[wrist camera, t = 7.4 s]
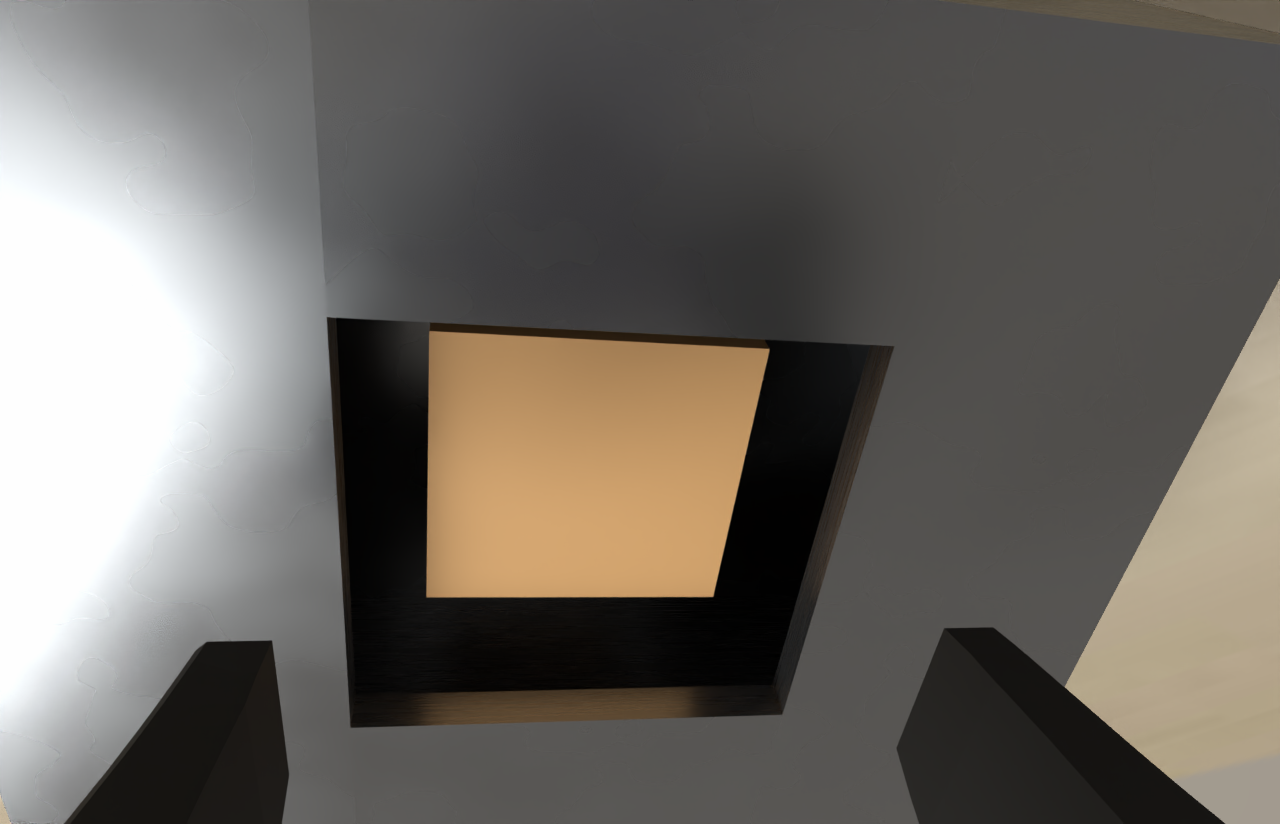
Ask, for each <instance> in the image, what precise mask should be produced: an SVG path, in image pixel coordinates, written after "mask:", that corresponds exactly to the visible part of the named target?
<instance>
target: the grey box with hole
mask: <svg viewBox="0 0 1280 824" xmlns="http://www.w3.org/2000/svg"><path fill="white" fill-rule="evenodd" d="M1279 279H1280V33H1276V32H1271V31H1267V30H1262V29H1258V28H1254V27H1249V26H1245V25H1240V24H1236V23H1231V22H1227V21H1223V20H1218V19H1214V18H1209V17H1205V16H1200V15H1196V14H1192V13H1187V12H1183V11H1178V10H1174V9H1169V8H1165V7H1161V6H1156V5H1152V4H1147V3H1143V2H1138V1H1134V0H0V795H1V798H2V801H3V803H4V806H5V809H6V811H7V814H8V817H9V819H10V822H11V824H64V823H65V822H66V821H67V819H68V818H69V817H70V816H71V814H72V813H73V812H74V811H75V809H76V808H77V807H78V806H79V805H80V803H81V802H82V801H83V800H84V798H85V797H86V796H87V795H88V793H89V792H90V791H91V790H92V788H93V787H94V786H95V785H96V784H97V782H98V781H99V780H100V779H101V777H102V776H103V775H104V774H105V772H106V771H107V770H108V769H109V767H110V766H111V765H112V763H113V762H114V761H115V759H116V758H117V757H118V756H119V754H120V753H121V752H122V750H123V749H124V748H125V746H126V745H127V744H128V743H129V741H130V740H131V739H132V737H133V736H134V735H135V733H136V732H137V731H138V729H139V728H140V727H141V725H142V724H143V723H144V721H145V720H146V719H147V717H148V716H149V715H150V713H151V712H152V711H153V709H154V708H155V707H156V705H157V704H158V703H159V701H160V700H161V698H162V697H163V696H164V694H165V693H166V691H167V690H168V689H169V687H170V686H171V685H172V683H173V682H174V680H175V679H176V678H177V676H178V675H179V673H180V672H181V671H182V669H183V668H184V666H185V665H186V663H187V662H188V661H189V659H190V658H191V656H192V655H193V653H194V652H195V650H197V649H198V648H199V647H200V646H202V645H203V644H204V643H205V642H214V641H269V640H272V643H273V651H274V658H275V666H276V674H277V682H278V690H279V698H280V706H281V713H282V721H283V729H284V737H285V745H286V753H287V761H288V768H289V780H288V787H287V793H286V800H285V806H284V813H283V819H282V824H919V822H918V819H917V816H916V813H915V810H914V807H913V804H912V800H911V797H910V794H909V790H908V787H907V784H906V780H905V777H904V773H903V770H902V766H901V763H900V759H899V756H898V752H897V749H896V747H897V745H898V742H899V740H900V737H901V735H902V732H903V730H904V727H905V725H906V722H907V720H908V717H909V715H910V712H911V710H912V707H913V705H914V702H915V700H916V697H917V695H918V692H919V690H920V687H921V685H922V682H923V680H924V677H925V675H926V672H927V670H928V667H929V665H930V662H931V660H932V657H933V655H934V652H935V650H936V647H937V645H938V642H939V640H940V637H941V635H942V632H943V630H944V628H980V627H994V628H995V629H996V630H997V631H999V632H1000V633H1001V634H1002V635H1004V636H1005V637H1006V638H1007V639H1009V640H1010V641H1011V642H1012V643H1013V644H1015V645H1016V646H1017V647H1018V648H1019V649H1021V650H1022V651H1023V652H1024V653H1025V654H1027V655H1028V656H1029V657H1030V658H1031V659H1032V660H1034V661H1035V662H1036V663H1037V664H1038V665H1039V666H1041V667H1042V668H1043V669H1044V670H1045V671H1046V672H1047V673H1049V674H1050V675H1051V676H1052V677H1053V678H1054V679H1056V680H1057V681H1058V682H1059V683H1060V684H1061V685H1062V686H1064V687H1065V685H1066V683H1067V681H1068V679H1069V677H1070V675H1071V673H1072V671H1073V670H1074V668H1075V666H1076V664H1077V662H1078V660H1079V658H1080V656H1081V654H1082V653H1083V651H1084V649H1085V647H1086V645H1087V643H1088V641H1089V639H1090V637H1091V635H1092V634H1093V632H1094V630H1095V628H1096V626H1097V624H1098V622H1099V620H1100V618H1101V616H1102V615H1103V613H1104V611H1105V609H1106V607H1107V605H1108V603H1109V601H1110V599H1111V597H1112V596H1113V594H1114V592H1115V590H1116V588H1117V586H1118V584H1119V582H1120V580H1121V579H1122V577H1123V575H1124V573H1125V571H1126V569H1127V567H1128V565H1129V563H1130V561H1131V560H1132V558H1133V556H1134V554H1135V552H1136V550H1137V548H1138V546H1139V544H1140V542H1141V541H1142V539H1143V537H1144V535H1145V533H1146V531H1147V529H1148V527H1149V525H1150V523H1151V522H1152V520H1153V518H1154V516H1155V514H1156V512H1157V510H1158V508H1159V506H1160V504H1161V503H1162V501H1163V499H1164V497H1165V495H1166V493H1167V491H1168V489H1169V487H1170V486H1171V484H1172V482H1173V480H1174V478H1175V476H1176V474H1177V472H1178V470H1179V468H1180V467H1181V465H1182V463H1183V461H1184V459H1185V457H1186V455H1187V453H1188V451H1189V449H1190V448H1191V446H1192V444H1193V442H1194V440H1195V438H1196V436H1197V434H1198V432H1199V430H1200V429H1201V427H1202V425H1203V423H1204V421H1205V419H1206V417H1207V415H1208V413H1209V411H1210V410H1211V408H1212V406H1213V404H1214V402H1215V400H1216V398H1217V396H1218V394H1219V393H1220V391H1221V389H1222V387H1223V385H1224V383H1225V381H1226V379H1227V377H1228V375H1229V374H1230V372H1231V370H1232V368H1233V366H1234V364H1235V362H1236V360H1237V358H1238V356H1239V355H1240V353H1241V351H1242V349H1243V347H1244V345H1245V343H1246V341H1247V339H1248V337H1249V336H1250V334H1251V332H1252V330H1253V328H1254V326H1255V324H1256V322H1257V320H1258V319H1259V317H1260V315H1261V313H1262V311H1263V309H1264V307H1265V305H1266V303H1267V301H1268V300H1269V298H1270V296H1271V294H1272V292H1273V290H1274V288H1275V286H1276V284H1277V282H1278V281H1279ZM430 322H431V323H451V324H470V325H490V326H510V327H529V328H549V329H568V330H588V331H607V332H627V333H646V334H666V335H685V336H705V337H725V338H744V339H764V340H765V342H766V343H767V345H768V347H769V349H770V350H769V354H768V359H767V363H766V367H765V372H764V376H763V381H762V385H761V389H760V394H759V398H758V402H757V407H756V411H755V416H754V420H753V424H752V429H751V433H750V437H749V442H748V446H747V451H746V455H745V459H744V464H743V468H742V472H741V477H740V481H739V486H738V490H737V494H736V499H735V503H734V507H733V512H732V516H731V521H730V525H729V529H728V534H727V538H726V543H725V547H724V551H723V556H722V560H721V564H720V569H719V573H718V578H717V582H716V586H715V591H714V595H713V597H426V590H427V497H428V404H429V329H430Z"/></svg>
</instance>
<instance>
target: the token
mask: <svg viewBox="0 0 1280 824" xmlns="http://www.w3.org/2000/svg"><path fill="white" fill-rule="evenodd" d="M769 350H770V349H769V347H768V345H767V343H766V342H765V340H764V339H744V338H725V337H705V336H685V335H666V334H646V333H627V332H607V331H588V330H568V329H549V328H529V327H510V326H490V325H470V324H451V323H431V322H430V329H429V404H428V497H427V590H426V597H713V595H714V591H715V586H716V582H717V578H718V573H719V569H720V564H721V560H722V556H723V551H724V547H725V543H726V538H727V534H728V529H729V525H730V521H731V516H732V512H733V507H734V503H735V499H736V494H737V490H738V486H739V481H740V477H741V472H742V468H743V464H744V459H745V455H746V451H747V446H748V442H749V437H750V433H751V429H752V424H753V420H754V416H755V411H756V407H757V402H758V398H759V394H760V389H761V385H762V381H763V376H764V372H765V367H766V363H767V359H768V354H769Z"/></svg>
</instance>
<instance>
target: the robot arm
mask: <svg viewBox="0 0 1280 824" xmlns="http://www.w3.org/2000/svg"><path fill="white" fill-rule="evenodd" d="M896 749H897V752H898V756H899V759H900V763H901V766H902V770H903V773H904V777H905V780H906V784H907V787H908V790H909V794H910V797H911V800H912V804H913V807H914V810H915V813H916V816H917V819H918V822H919V824H1225V823H1224V822H1222V821H1221V820H1220V819H1219V818H1218V817H1216V816H1215V815H1214V814H1213V813H1212V812H1210V811H1209V810H1208V809H1207V808H1205V807H1204V806H1203V805H1202V804H1200V803H1199V802H1198V801H1197V800H1196V799H1194V798H1193V797H1192V796H1191V795H1189V794H1188V793H1187V792H1186V791H1185V790H1184V789H1182V788H1181V787H1180V786H1179V785H1178V784H1176V783H1175V782H1174V781H1173V780H1172V779H1170V778H1169V777H1168V776H1167V775H1166V774H1164V773H1163V772H1162V771H1161V770H1160V769H1159V768H1157V767H1156V766H1155V765H1154V764H1153V763H1151V762H1150V761H1149V760H1148V759H1147V758H1146V757H1144V756H1143V755H1142V754H1141V753H1140V752H1139V751H1137V750H1136V749H1135V748H1134V747H1133V746H1132V745H1130V744H1129V743H1128V742H1127V741H1126V740H1125V739H1123V738H1122V737H1121V736H1120V735H1119V734H1118V733H1116V732H1115V731H1114V730H1113V729H1112V728H1111V727H1110V726H1108V725H1107V724H1106V723H1105V722H1104V721H1103V720H1101V719H1100V718H1099V717H1098V716H1097V715H1096V714H1095V713H1093V712H1092V711H1091V710H1090V709H1089V708H1088V707H1087V706H1085V705H1084V704H1083V703H1082V702H1081V701H1080V700H1079V699H1077V698H1076V697H1075V696H1074V695H1073V694H1072V693H1070V692H1069V691H1068V690H1067V689H1066V688H1065V687H1064V686H1062V685H1061V684H1060V683H1059V682H1058V681H1057V680H1056V679H1054V678H1053V677H1052V676H1051V675H1050V674H1049V673H1047V672H1046V671H1045V670H1044V669H1043V668H1042V667H1041V666H1039V665H1038V664H1037V663H1036V662H1035V661H1034V660H1032V659H1031V658H1030V657H1029V656H1028V655H1027V654H1025V653H1024V652H1023V651H1022V650H1021V649H1019V648H1018V647H1017V646H1016V645H1015V644H1013V643H1012V642H1011V641H1010V640H1009V639H1007V638H1006V637H1005V636H1004V635H1002V634H1001V633H1000V632H999V631H997V630H996V629H995V628H994V627H980V628H944V630H943V632H942V635H941V637H940V640H939V642H938V645H937V647H936V650H935V652H934V655H933V657H932V660H931V662H930V665H929V667H928V670H927V672H926V675H925V677H924V680H923V682H922V685H921V687H920V690H919V692H918V695H917V697H916V700H915V702H914V705H913V707H912V710H911V712H910V715H909V717H908V720H907V722H906V725H905V727H904V730H903V732H902V735H901V737H900V740H899V742H898V745H897V747H896ZM288 780H289V768H288V761H287V753H286V745H285V737H284V729H283V721H282V713H281V706H280V698H279V690H278V682H277V674H276V666H275V658H274V651H273V643H272V640H269V641H214V642H205V643H204V644H203V645H202V646H200V647H199V648H198V649H197V650H195V652H194V653H193V655H192V656H191V658H190V659H189V661H188V662H187V663H186V665H185V666H184V668H183V669H182V671H181V672H180V673H179V675H178V676H177V678H176V679H175V680H174V682H173V683H172V685H171V686H170V687H169V689H168V690H167V691H166V693H165V694H164V696H163V697H162V698H161V700H160V701H159V703H158V704H157V705H156V707H155V708H154V709H153V711H152V712H151V713H150V715H149V716H148V717H147V719H146V720H145V721H144V723H143V724H142V725H141V727H140V728H139V729H138V731H137V732H136V733H135V735H134V736H133V737H132V739H131V740H130V741H129V743H128V744H127V745H126V746H125V748H124V749H123V750H122V752H121V753H120V754H119V756H118V757H117V758H116V759H115V761H114V762H113V763H112V765H111V766H110V767H109V769H108V770H107V771H106V772H105V774H104V775H103V776H102V777H101V779H100V780H99V781H98V782H97V784H96V785H95V786H94V787H93V788H92V790H91V791H90V792H89V793H88V795H87V796H86V797H85V798H84V800H83V801H82V802H81V803H80V805H79V806H78V807H77V808H76V809H75V811H74V812H73V813H72V814H71V816H70V817H69V818H68V819H67V821H66V822H65V823H64V824H282V819H283V813H284V806H285V800H286V793H287V787H288Z"/></svg>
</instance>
